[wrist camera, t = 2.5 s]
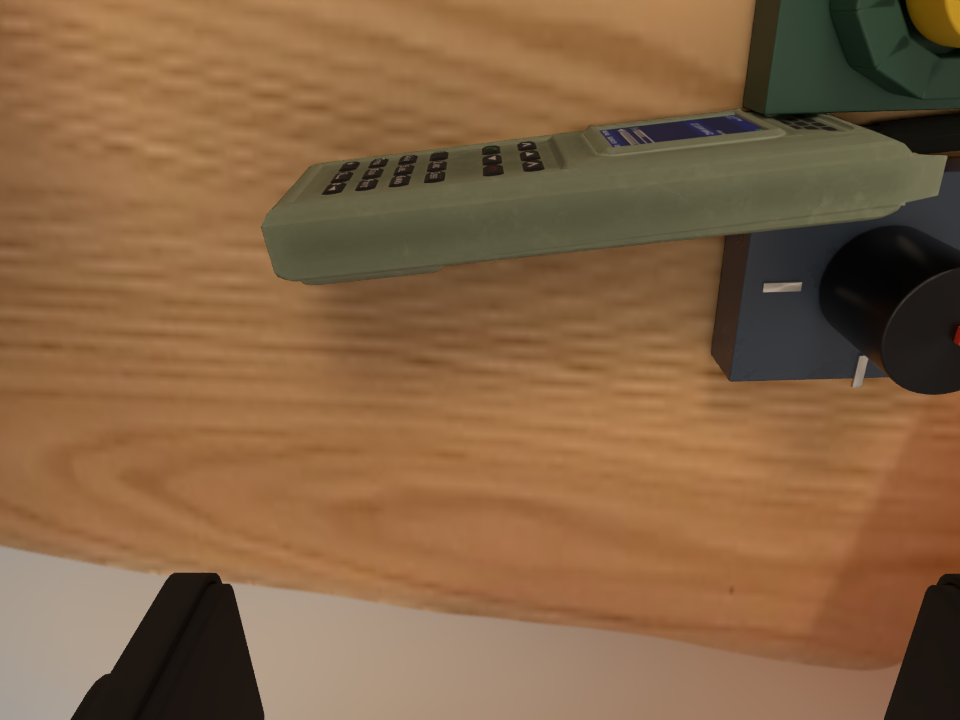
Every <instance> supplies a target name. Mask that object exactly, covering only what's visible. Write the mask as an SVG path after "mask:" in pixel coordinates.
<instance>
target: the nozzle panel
mask: <svg viewBox="0 0 960 720" xmlns="http://www.w3.org/2000/svg"><path fill="white" fill-rule="evenodd" d="M885 226H907V227H912V228H915V229H918V230H920V231H922V232H924V233H926V234H928V235H930V236H932V237H934V238H936V239H938V240H940V241H942V242H944V243H946V244H948V245H950V246H952V247H954V248H956V249H958V250H960V157H947V160H946V165H945V169H944V173H943V177H942V181H941V185H940V189H939V193H938V195H937V196H933V197H928V198H924V199H919V200H915V201H910V202H906V203H901V207H900V208H899V209H898V210H897V211H895V212H893V213H892V214H890V215H887V216H885V217H882V218H878V219H873V220H864V221H855V222H845V223H836V224H827V225H817V226H808V227H799V228H790V229H780V230H771V231H762V232H753V233H743V234H734V235H726V243H725V251H724V259H723V266H722V274H721V282H720V290H719V297H718V305H717V313H716V321H715V328H714V336H713V344H712V352H711V355H712V356H713V358H714V359H715V361H716V362H717V364H718V365H719V367H720V368H721V370H722V371H723V373H724V374H725V375H726V377H727V378H728V380H729V381H731V382H733V381H769V380H805V379H842V378H852V382H851V387H852V388H857V387H862V383H863V379H864V378H878V377H888V376H887V375H886V374H885V373H884V372H883V371H882V370H881V369H879V368H878V367H877V366H876V365H875V364H874V363H873V362H872V361H870V360H869V359H868V358H867V357H866V356H865V355H864V354H863V353H861V352H860V351H859V350H858V349H857V348H856V347H855V346H854V345H853V344H851V343H850V342H849V341H848V340H847V339H846V338H845V337H844V336H842V335H841V334H840V333H839V332H838V331H837V330H836V329H835V328H834V327H832V326H831V325H830V323H829V322H828V321H827V320H826V318H825V316H824V314H823V311H822V309H821V304H820V287H821V282H822V279H823V276H824V274H825V271H826V269H827V267H828V266H829V264H830V262H831V261H832V259H833V258H834V257H835V256H836V254H837V253H838V252H839V251H840V250H841V249H842V248H843V247H844V246H845V245H846V244H848V243H849V242H850V241H852V240H853V239H855V238H856V237H858V236H860V235H862V234H864V233H866V232H868V231H871V230H874V229H877V228H881V227H885Z"/></svg>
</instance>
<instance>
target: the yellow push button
mask: <svg viewBox="0 0 960 720" xmlns="http://www.w3.org/2000/svg"><path fill="white" fill-rule="evenodd" d="M906 6H907V10H908V13H909V16H910V18H911V21H912V22H913V24H914V26H915V27H916V29H917V30H918V31H919V32H920V33H921V34H922V35H923V36H924V37H925V38H927V39H928V40H930V41H932V42H933V43H936V44H939V45H942V46H947V47H955V48H960V0H906Z"/></svg>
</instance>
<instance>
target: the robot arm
mask: <svg viewBox="0 0 960 720" xmlns="http://www.w3.org/2000/svg"><path fill="white" fill-rule="evenodd" d="M71 720H264V711H263V707H262V703H261V699H260V695H259V691H258V687H257V683H256V678H255V674H254V670H253V666H252V662H251V658H250V654H249V650H248V646H247V642H246V639H245V635H244V630H243V626H242V622H241V618H240V615H239V610H238V606H237V602H236V598H235V594H234V590H233V588H232V586H231V585H230V584H222V581H221V579H220V576H219V575H218V574H217V573H173V574H172V575H170V576H169V578H168V579H167V580H166V582H165V583H164V585H163V587H162V588H161V590H160V591H159V593H158V595H157V597H156V598H155V600H154V601H153V603H152V605H151V606H150V608H149V610H148V611H147V613H146V615H145V616H144V618H143V620H142V621H141V623H140V625H139V627H138V628H137V630H136V631H135V633H134V635H133V637H132V638H131V640H130V642H129V643H128V645H127V646H126V648H125V650H124V651H123V653H122V655H121V656H120V658H119V660H118V661H117V663H116V665H115V666H114V668H113V670H112V671H111V673H110V674H105V675H104V676H102V677H101V678H100V679H98V680H97V681H96V682H95V683H94V684H93V686H92V687H91V688H90V690H89V691H88V692H87V694H86V695H85V697H84V699H83V701H82V702H81V704H80V705H79V707H78V708H77V710H76V712H75V713H74V715H73V716H72V718H71ZM884 720H960V574H944V575H943V576H942V577H940V579H939V581H938V583H937V585H931V586H930V587H928V589H927V591H926V592H925V596H924V599H923V602H922V605H921V608H920V611H919V614H918V617H917V620H916V623H915V626H914V629H913V632H912V635H911V638H910V641H909V644H908V647H907V650H906V653H905V656H904V659H903V662H902V666H901V669H900V672H899V675H898V678H897V681H896V684H895V687H894V690H893V693H892V696H891V699H890V702H889V705H888V708H887V711H886V714H885V717H884Z"/></svg>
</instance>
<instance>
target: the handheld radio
mask: <svg viewBox="0 0 960 720" xmlns="http://www.w3.org/2000/svg"><path fill="white" fill-rule="evenodd" d="M958 150H960V114H952V115H943V116H935V117H926V118H917V119H908V120H900V121H891V122H882V123H875V124H874V125H873V126H866V127H861V126H858V125H856V124H853V123H850V122H847V121H845V120H842V119H839V118H837V117H834V116H831V115H828V114H826V113H809V114H776V115H765V114H762V113H759V112H749V113H746V112H743V111H741V110H740V109H735V110H731V111H722V112H713V113H705V114H696V115H688V116H679V117H670V118H662V119H653V120H645V121H636V122H627V123H619V124H610V125H602V126H589V127H588V128H587V129H586V130H585V131H578V132H569V133H560V134H556V135H548V136H539V137H531V138H523V139H515V140H507V141H498V142H490V143H482V144H474V145H466V146H457V147H449V148H441V149H433V150H425V151H416V152H408V153H400V154H392V155H384V156H376V157H367V158H359V159H351V160H343V161H335V162H327V163H319V164H315V165H313V166H311V167H309V168H308V170H307V171H306V172H305V173H304V174H303V175H302V176H301V177H300V178H299V179H298V181H297V182H296V183H295V184H294V185H293V186H292V187H291V188H290V189H289V191H288V192H287V193H286V194H285V195H284V196H283V197H282V198H281V199H280V200H279V202H278V203H277V204H276V205H275V206H274V207H273V208H272V209H271V210H270V212H269V213H268V214H267V215H266V217H265V219H264V222H263V224H262V226H261V229H262V232H263V236H264V239H265V242H266V246H267V249H268V253H269V256H270V259H271V263H272V266H273V269H274V273H275V274H276V275H277V276H278V277H280V278H282V279H285V280H290V281H301V282H302V283H304V284H308V285H322V284H331V283H340V282H350V281H359V280H368V279H377V278H387V277H396V276H405V275H415V274H424V273H433V272H436V271H439V270H441V268H442V266H447V265H456V264H465V263H475V262H484V261H493V260H502V259H512V258H521V257H530V256H540V255H549V254H558V253H567V252H577V251H586V250H595V249H604V248H614V247H623V246H632V245H641V244H651V243H660V242H669V241H679V240H688V239H697V238H706V237H716V236H725V235H734V234H743V233H753V232H762V231H771V230H780V229H790V228H799V227H808V226H817V225H827V224H836V223H845V222H855V221H864V220H873V219H878V218H882V217H885V216H887V215H890V214H892V213H893V212H895V211H897V210H898V209H899V208H900V207H901V203H906V202H910V201H915V200H919V199H924V198H928V197H933V196H937V195H938V193H939V189H940V185H941V181H942V177H943V173H944V169H945V165H946V160H947V156H945V155H922V154H931V153H940V152H949V151H958Z"/></svg>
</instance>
